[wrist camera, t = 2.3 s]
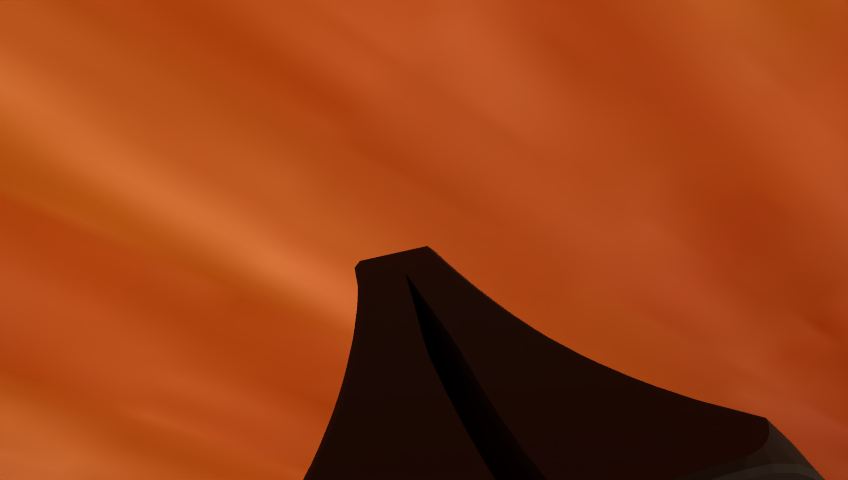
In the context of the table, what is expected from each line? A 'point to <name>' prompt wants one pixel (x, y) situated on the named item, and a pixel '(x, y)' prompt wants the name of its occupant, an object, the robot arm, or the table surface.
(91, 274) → the table surface
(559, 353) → the robot arm
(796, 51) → the table surface
